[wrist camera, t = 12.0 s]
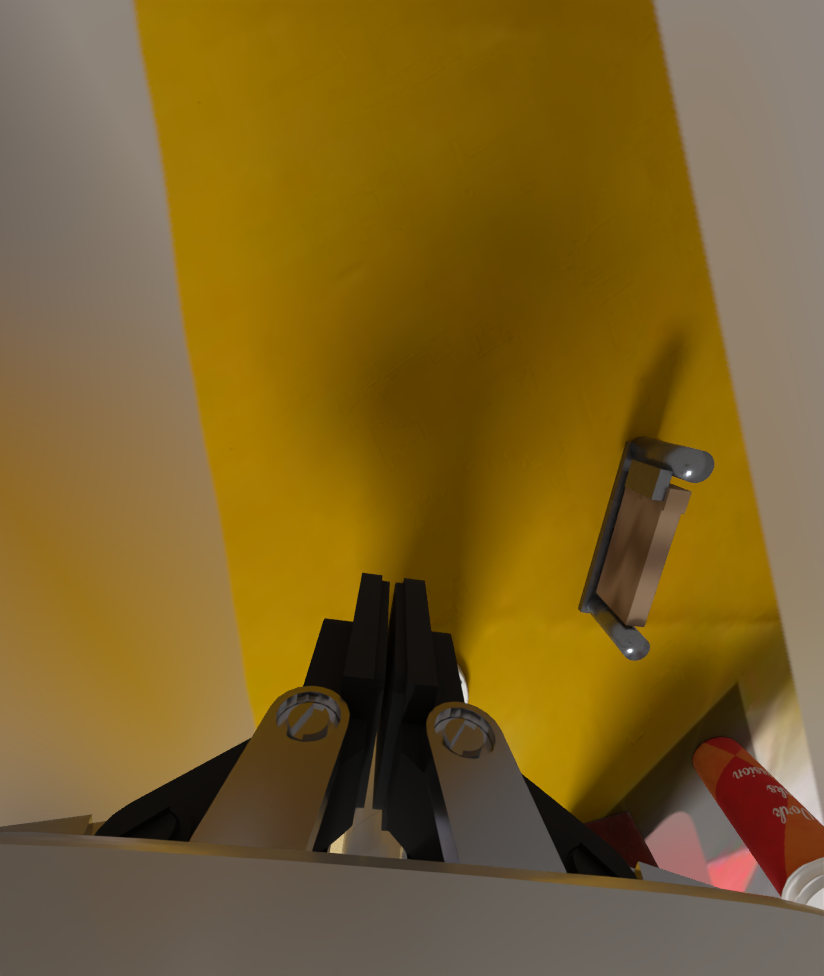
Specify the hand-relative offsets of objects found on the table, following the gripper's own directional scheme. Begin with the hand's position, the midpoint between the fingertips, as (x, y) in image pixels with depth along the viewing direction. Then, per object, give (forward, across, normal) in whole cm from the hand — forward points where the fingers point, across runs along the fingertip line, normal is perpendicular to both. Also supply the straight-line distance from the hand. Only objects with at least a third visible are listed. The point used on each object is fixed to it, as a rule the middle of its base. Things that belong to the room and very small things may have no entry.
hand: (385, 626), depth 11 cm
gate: (+26, -22, +5) cm, 34 cm away
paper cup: (+27, -41, +29) cm, 57 cm away
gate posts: (+27, -22, +4) cm, 35 cm away
